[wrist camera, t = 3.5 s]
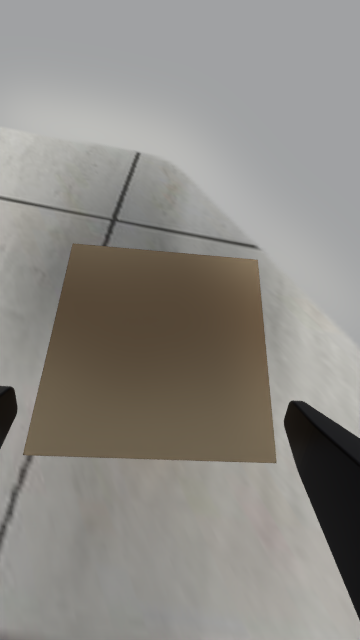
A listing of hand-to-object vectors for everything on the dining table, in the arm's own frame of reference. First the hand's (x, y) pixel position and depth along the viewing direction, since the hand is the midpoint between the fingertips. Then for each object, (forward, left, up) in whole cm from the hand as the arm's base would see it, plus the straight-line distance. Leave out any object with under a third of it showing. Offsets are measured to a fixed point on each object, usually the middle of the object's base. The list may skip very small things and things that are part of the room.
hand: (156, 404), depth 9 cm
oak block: (+1, 0, -9) cm, 9 cm away
